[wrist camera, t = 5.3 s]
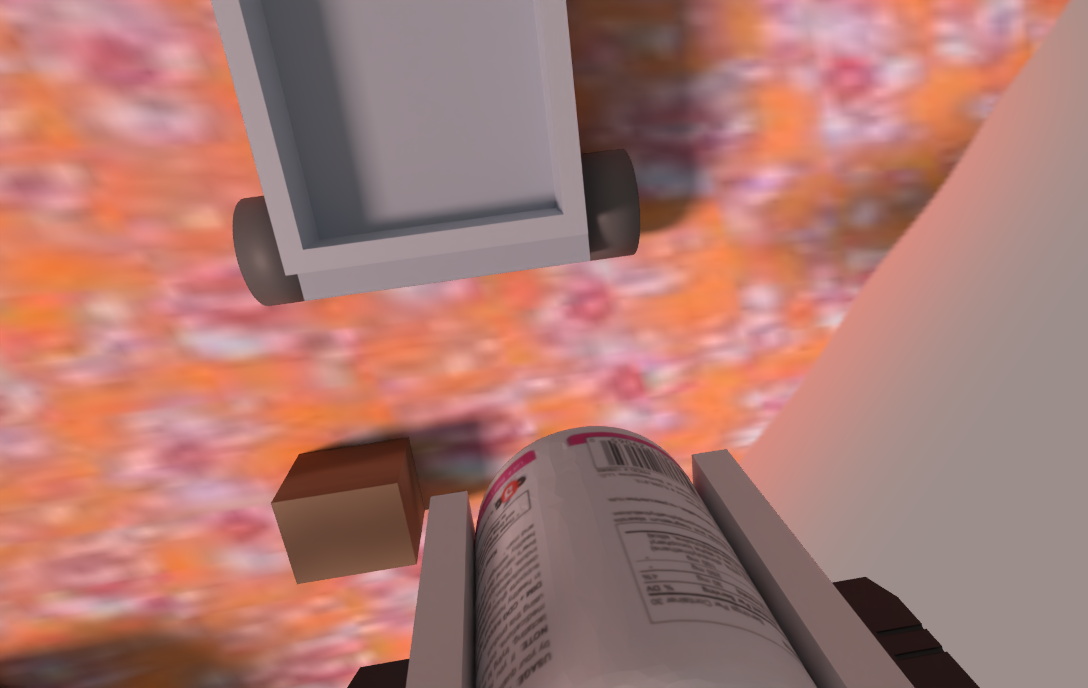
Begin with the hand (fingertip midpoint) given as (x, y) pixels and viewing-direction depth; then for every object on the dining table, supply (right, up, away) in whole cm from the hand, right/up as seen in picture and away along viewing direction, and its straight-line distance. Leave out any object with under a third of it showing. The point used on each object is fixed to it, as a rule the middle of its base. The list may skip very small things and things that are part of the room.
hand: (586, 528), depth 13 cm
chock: (-9, -3, +15) cm, 18 cm away
